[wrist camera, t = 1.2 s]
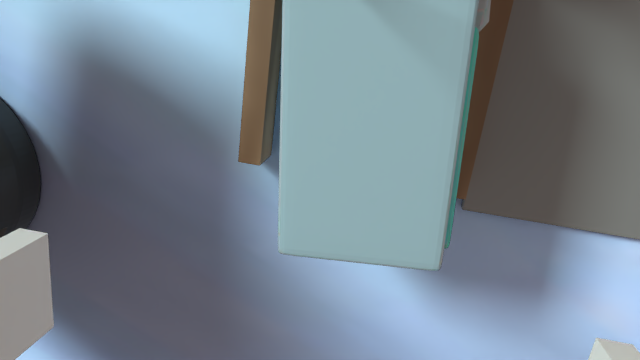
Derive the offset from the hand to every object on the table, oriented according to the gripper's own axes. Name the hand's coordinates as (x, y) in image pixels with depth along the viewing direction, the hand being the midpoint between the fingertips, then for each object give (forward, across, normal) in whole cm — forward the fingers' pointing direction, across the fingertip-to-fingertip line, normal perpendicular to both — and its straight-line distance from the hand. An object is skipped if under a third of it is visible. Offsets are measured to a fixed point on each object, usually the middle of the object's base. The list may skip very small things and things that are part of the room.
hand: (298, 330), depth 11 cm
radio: (+22, +1, +4) cm, 23 cm away
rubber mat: (+22, +14, +6) cm, 27 cm away
